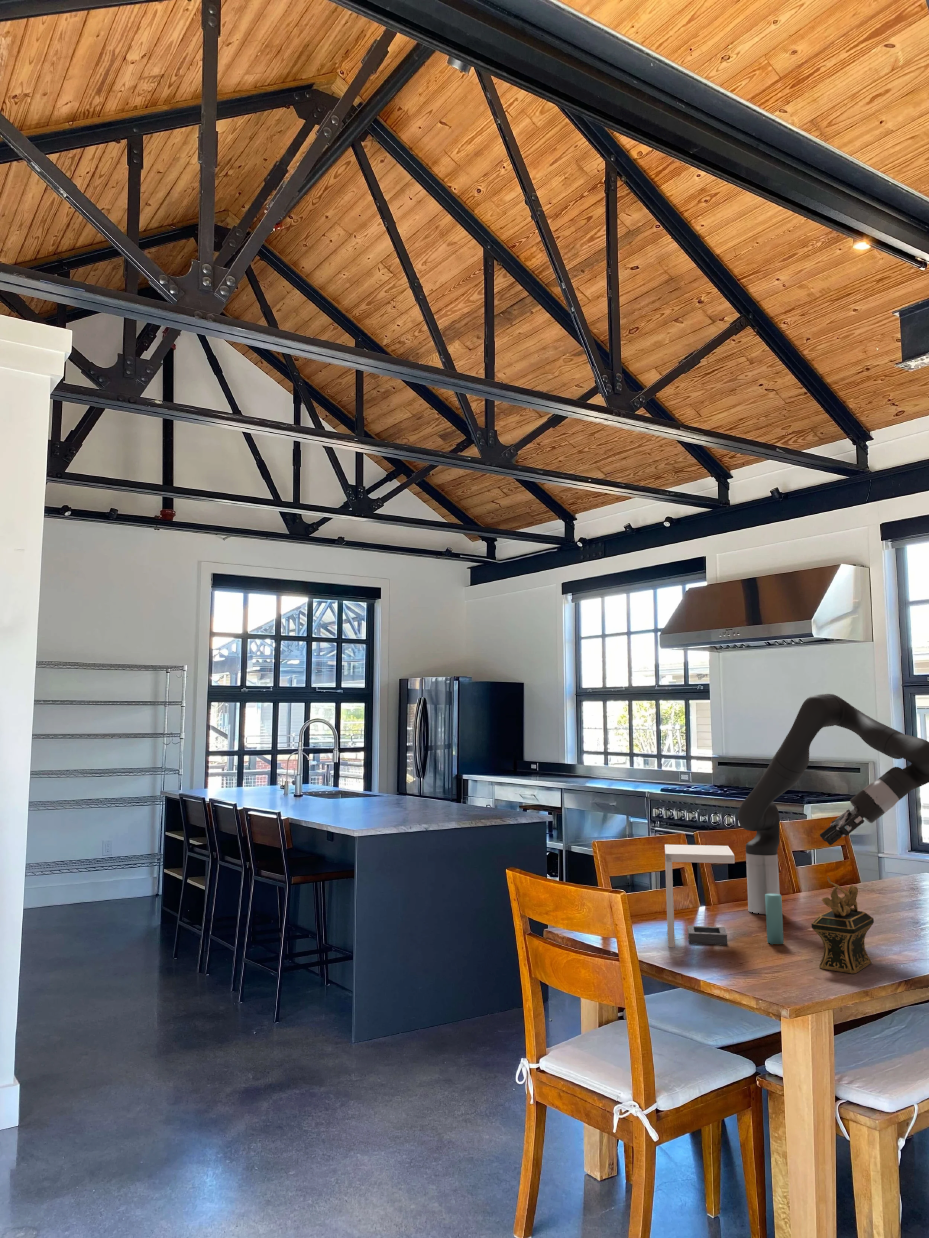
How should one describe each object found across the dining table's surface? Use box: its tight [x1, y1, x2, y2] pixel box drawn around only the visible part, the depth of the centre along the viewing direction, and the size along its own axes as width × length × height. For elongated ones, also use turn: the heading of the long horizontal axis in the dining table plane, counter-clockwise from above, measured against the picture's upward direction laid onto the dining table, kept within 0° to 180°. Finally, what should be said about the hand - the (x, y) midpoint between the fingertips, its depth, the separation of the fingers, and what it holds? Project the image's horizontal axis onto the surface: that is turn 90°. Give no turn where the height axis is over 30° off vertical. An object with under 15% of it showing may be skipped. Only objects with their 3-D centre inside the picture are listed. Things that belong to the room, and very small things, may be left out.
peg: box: [765, 894, 785, 945], centre depth 227 cm, size 4×4×12 cm
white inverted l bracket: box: [664, 843, 736, 948], centre depth 232 cm, size 20×17×23 cm
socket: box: [687, 925, 728, 946], centre depth 230 cm, size 10×10×2 cm
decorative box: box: [810, 875, 875, 975], centre depth 204 cm, size 20×10×20 cm, turn 140°
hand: (824, 840), depth 227 cm, fingers open, 8 cm apart
